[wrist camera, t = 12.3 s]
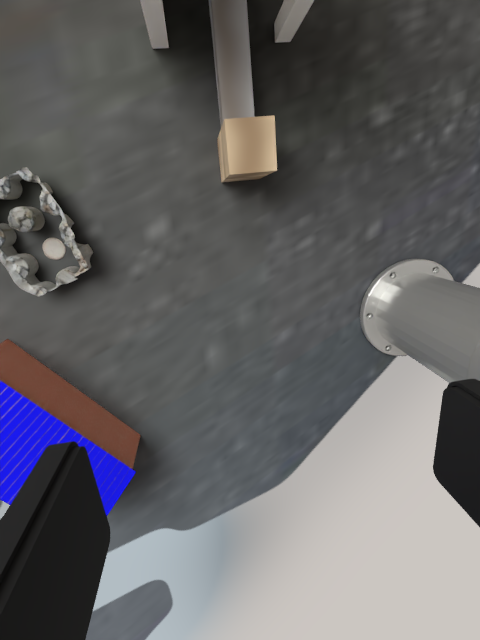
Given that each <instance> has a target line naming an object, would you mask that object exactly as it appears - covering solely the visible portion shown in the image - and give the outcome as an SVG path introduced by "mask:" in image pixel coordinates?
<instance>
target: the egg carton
mask: <svg viewBox="0 0 480 640" xmlns="http://www.w3.org/2000/svg"><path fill="white" fill-rule="evenodd" d="M22 179H24V180H26V181H29V182H35V183H39V184H40V185H41V186H42V189H43V190H41V195H40V198H39V199H40V204H41V208H40V209H41V210H42V211H43V212H46V213H49V214H51V215H61V217H62V222H61V224H60V226H59V230H60V231H61V238H62V239H63V240H64V243H62V241H60V240H59V239H57V238H48V239H47V240H45V241H44V243H43V251H44V253H45V255H46V256H47V257H49V258H50V259H54V260H59V259H61V258H63V257H64V255H65V253H66V248H65V245H66V246H68V247H70V248H71V249H72V252H73V254H74V256H75V258H76V259H77V261H78V262H79V265H80V268H79V267H76V266H70V267H67V268H65V269H63V270H61V271H59V272H58V274H57V276H56V285H55V284H54V283H52V282H50V281H43V282H40V281H39V280H38V279H37V278H36V276H35V273H36V272H37V271H38V268H39V265H38V261H37V260H36V258H35V257H33V256H32V255H30V254H26V253H23V254H18V253H17V252H16V250H15V249H14V248H13V246H12V245H13V244H14V243H15V241H16V233H15V231H14V229H16V230H18V231H20V232H31V231H38V230H40V229H41V228H42V227H43V226H44V224H45V219H44V216H43V214H42V212H41V211H40V210H38V209H37V208H34V207H24V206H20V207H16V208H13V209H12V210H10V213H9V216H8V222H9V225H8V224H5V223H0V261H1V263H2V264H3V265H4V266H5V267H6V269H7V271H8V272H9V274H10V276H11V277H12V279H13V281H14V282H15V283H16V285H17V286H18V287H19V288H21V289H22V290H24V291H26V292H29V293H31V294H34V295H36V296H42V295H44V294H45V293H46V292H49V291H52V290H54V289H56V288H58V286H60V285H62V284H68V283H70V282H72V281H74V280H76V279H78V278H76V277H77V276H78V275H80V274H81V273H83V272H85V271H87V270H89V269H90V268H91V264H90V257H91V255H92V254H93V251H92V249H91V247H90V246H89V245H88V244H79V243H77V242H76V241H75V240H74V238H75V235H74V233H73V232H72V230H71V227H72V225H73V224H74V222H73V221H72V220H71V219H70V218H69V217H68V215H67V214H63V212H62V209H61V208H60V206H59V205H58V204H57V202H56V201H55V200H54V198H53V197H52V196H51V194H52V193H53V191H52V189H51V188H50V186H49V185H48V184H47V183H41V182H40V180H39V177H38V176H37V175H34V174H32V173H31V172H30V171H29V170H28V168H27V167H24V168H22V169H20V170H19V171H17V172H15V173H13V174H11V175H8V176H5V177H3V178H2V179H0V199H8V200H12V199H17V198H19V197H20V196H21V194H22V185H21V183H20V181H21V180H22ZM64 244H65V245H64Z"/></svg>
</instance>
